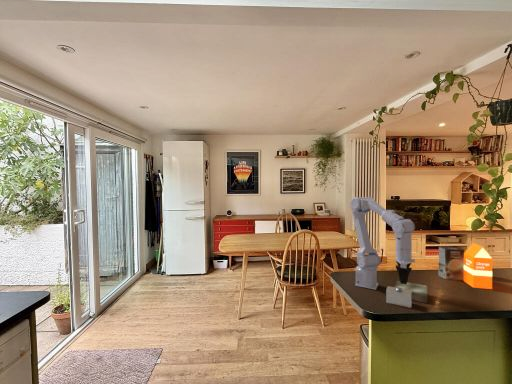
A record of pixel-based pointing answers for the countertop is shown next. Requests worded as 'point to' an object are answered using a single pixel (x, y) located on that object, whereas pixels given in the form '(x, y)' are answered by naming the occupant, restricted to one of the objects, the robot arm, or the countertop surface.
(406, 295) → the housing
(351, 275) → the countertop surface
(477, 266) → the orange juice
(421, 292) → the stand
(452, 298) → the countertop surface
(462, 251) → the coffee box
